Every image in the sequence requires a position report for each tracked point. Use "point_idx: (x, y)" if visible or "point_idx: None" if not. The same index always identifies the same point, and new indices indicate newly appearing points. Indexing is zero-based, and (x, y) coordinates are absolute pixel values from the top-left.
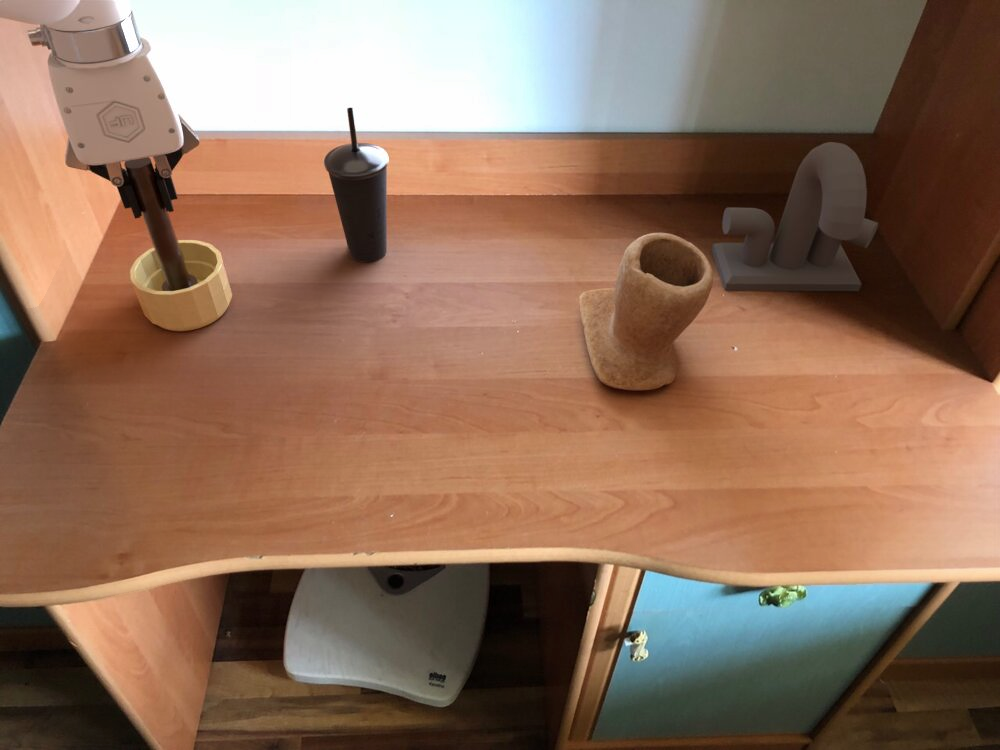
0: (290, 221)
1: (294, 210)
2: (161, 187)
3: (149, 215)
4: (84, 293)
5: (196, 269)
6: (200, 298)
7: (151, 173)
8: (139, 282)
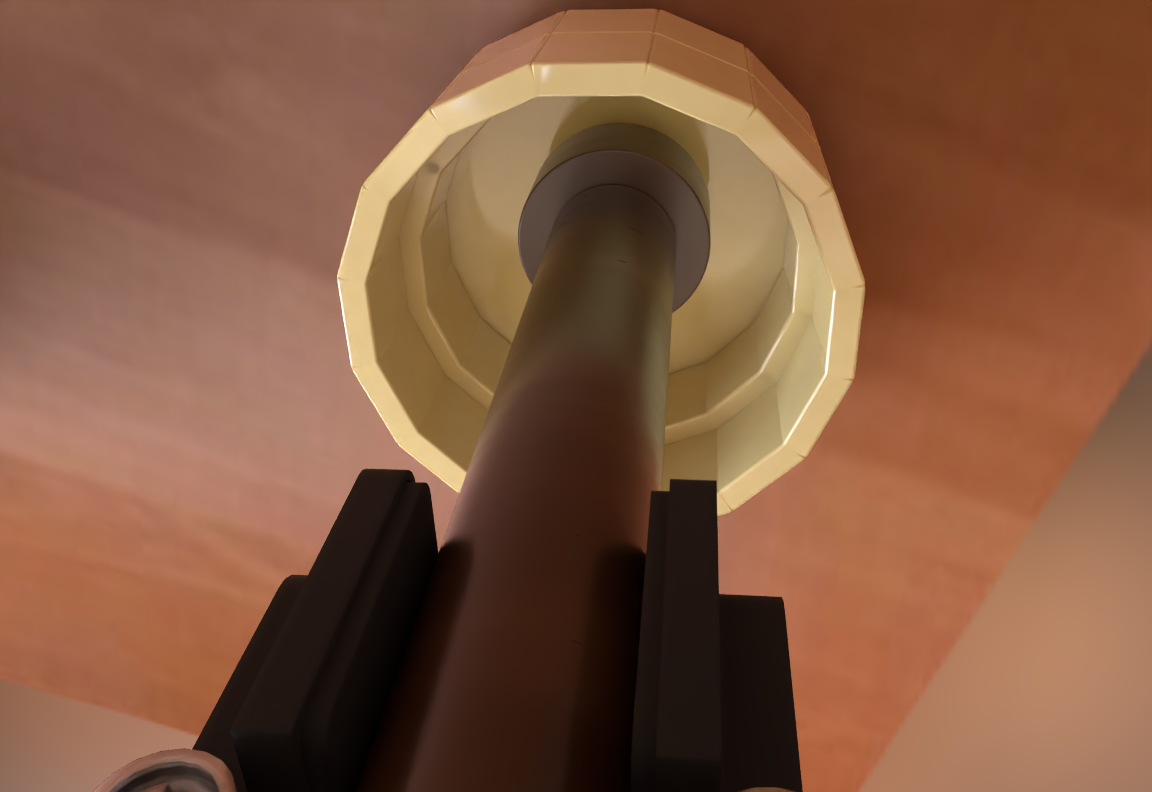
0: (168, 604)
1: (156, 657)
2: (313, 659)
3: (588, 490)
4: (1057, 466)
5: None
6: (505, 58)
7: None
8: (818, 323)
